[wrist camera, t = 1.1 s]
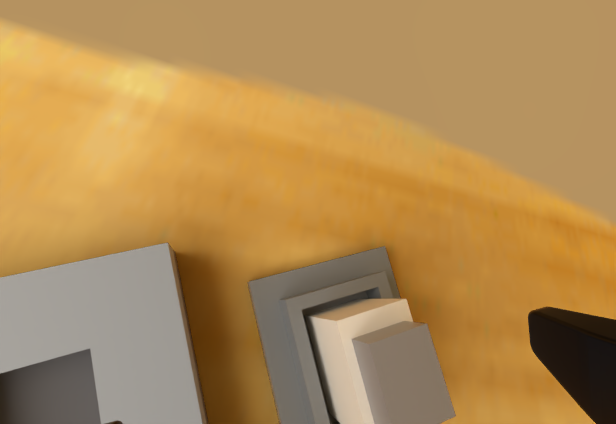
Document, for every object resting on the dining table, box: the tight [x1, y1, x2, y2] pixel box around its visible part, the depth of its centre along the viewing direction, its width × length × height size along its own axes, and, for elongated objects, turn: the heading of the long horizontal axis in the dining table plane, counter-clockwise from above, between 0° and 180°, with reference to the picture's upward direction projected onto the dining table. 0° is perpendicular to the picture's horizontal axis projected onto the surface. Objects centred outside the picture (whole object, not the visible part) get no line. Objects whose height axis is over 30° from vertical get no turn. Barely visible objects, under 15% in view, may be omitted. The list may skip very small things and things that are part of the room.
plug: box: [305, 299, 456, 424], centre depth 19 cm, size 6×4×8 cm, turn 15°
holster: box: [247, 246, 401, 424], centre depth 22 cm, size 12×10×3 cm
